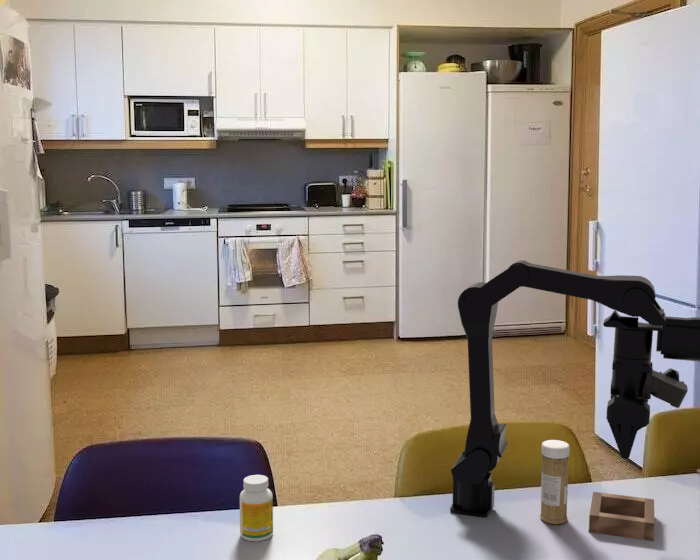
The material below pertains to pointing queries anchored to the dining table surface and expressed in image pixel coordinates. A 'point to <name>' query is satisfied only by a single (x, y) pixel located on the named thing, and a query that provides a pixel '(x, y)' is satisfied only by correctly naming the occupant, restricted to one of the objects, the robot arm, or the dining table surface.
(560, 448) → the sprinkles bottle
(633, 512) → the walnut socket
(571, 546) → the dining table surface
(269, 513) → the supplement bottle
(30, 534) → the dining table surface
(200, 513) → the dining table surface
